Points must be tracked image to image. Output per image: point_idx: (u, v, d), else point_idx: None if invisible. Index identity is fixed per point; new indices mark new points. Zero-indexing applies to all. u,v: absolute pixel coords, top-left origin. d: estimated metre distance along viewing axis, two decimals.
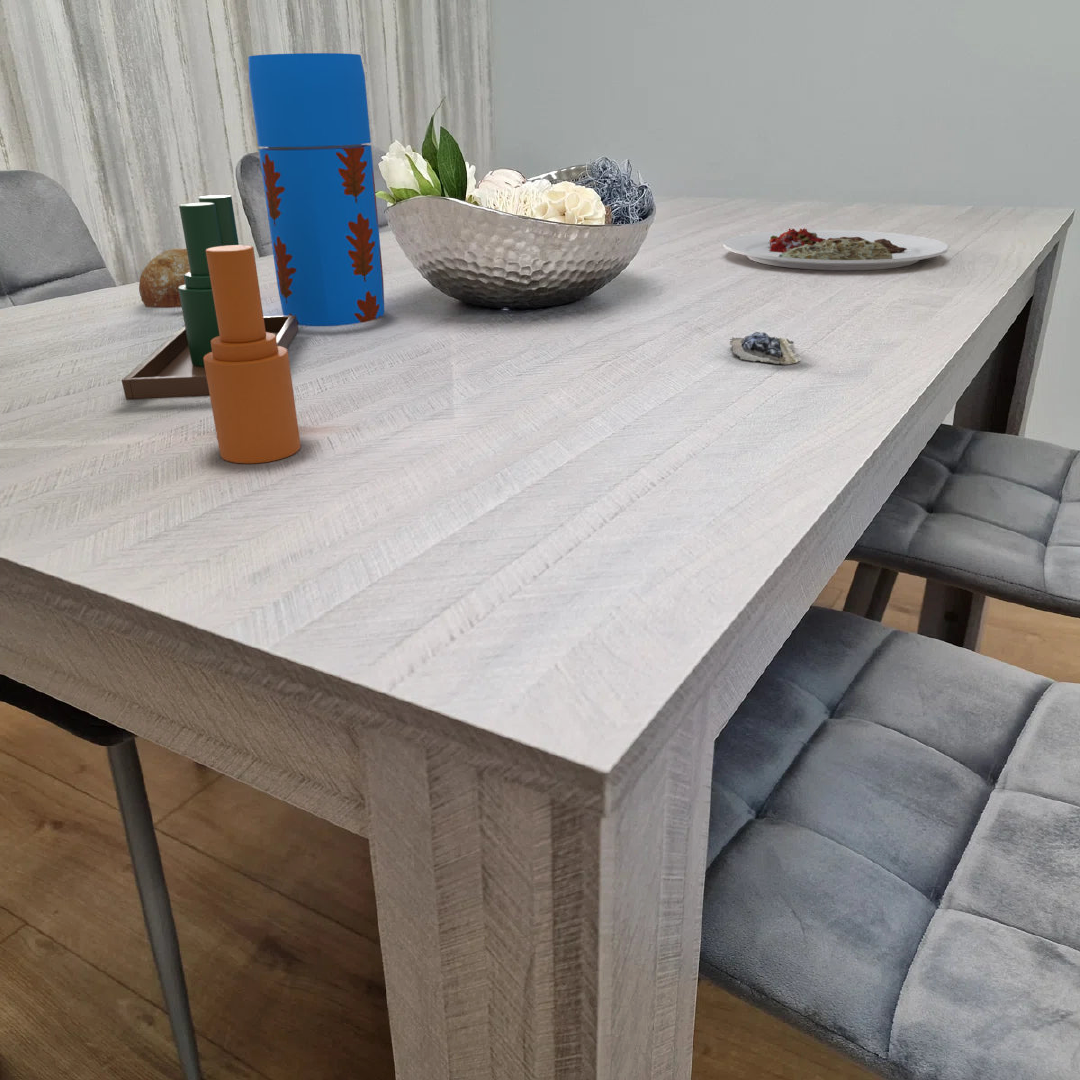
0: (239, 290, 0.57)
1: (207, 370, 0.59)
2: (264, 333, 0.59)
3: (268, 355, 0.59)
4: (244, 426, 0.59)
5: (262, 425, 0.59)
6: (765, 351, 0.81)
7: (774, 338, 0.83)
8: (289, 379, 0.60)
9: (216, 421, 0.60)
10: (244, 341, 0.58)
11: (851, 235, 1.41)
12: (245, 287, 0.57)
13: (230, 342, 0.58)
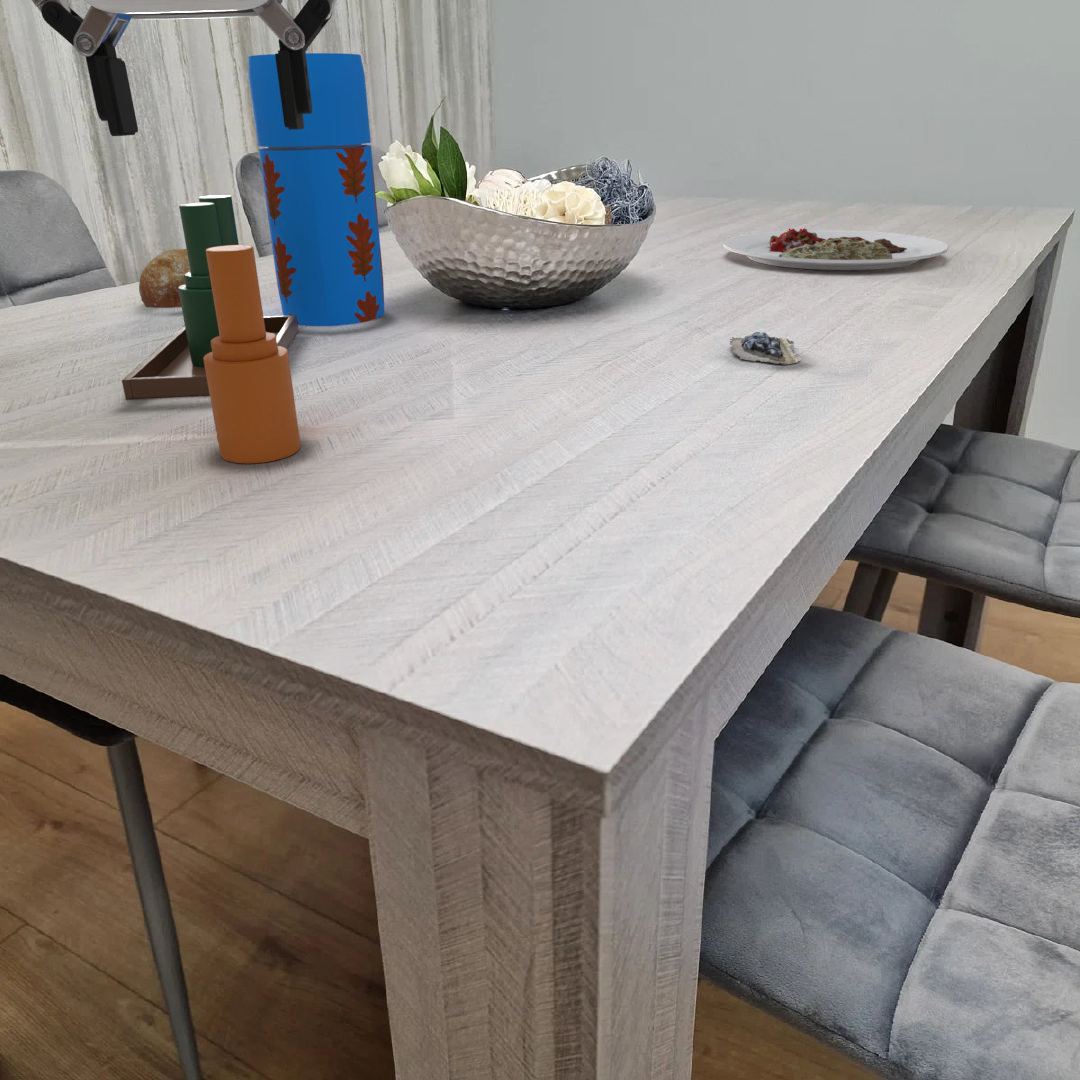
0: (239, 290, 0.57)
1: (207, 370, 0.59)
2: (264, 333, 0.59)
3: (268, 355, 0.59)
4: (244, 426, 0.59)
5: (262, 425, 0.59)
6: (765, 351, 0.81)
7: (774, 338, 0.83)
8: (289, 379, 0.60)
9: (216, 421, 0.60)
10: (244, 341, 0.58)
11: (851, 235, 1.41)
12: (245, 287, 0.57)
13: (230, 342, 0.58)
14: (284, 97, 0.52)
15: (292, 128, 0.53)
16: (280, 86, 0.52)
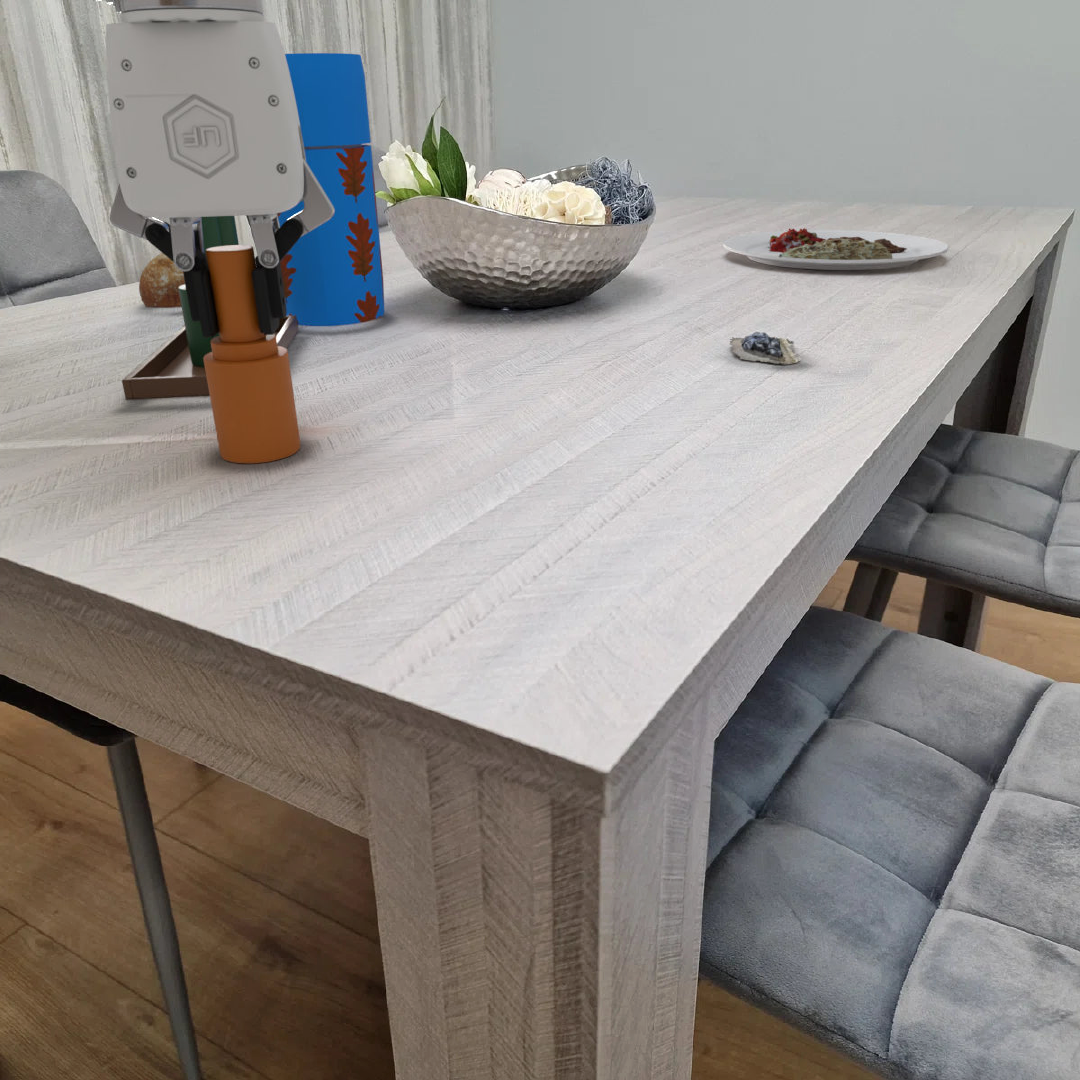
0: (239, 290, 0.57)
1: (207, 370, 0.59)
2: None
3: (268, 355, 0.59)
4: (244, 426, 0.59)
5: (262, 425, 0.59)
6: (765, 351, 0.81)
7: (774, 338, 0.83)
8: (289, 379, 0.60)
9: (216, 421, 0.60)
10: (244, 341, 0.58)
11: (851, 235, 1.41)
12: (245, 287, 0.57)
13: (230, 342, 0.58)
14: (260, 308, 0.57)
15: (267, 334, 0.58)
16: (256, 299, 0.57)
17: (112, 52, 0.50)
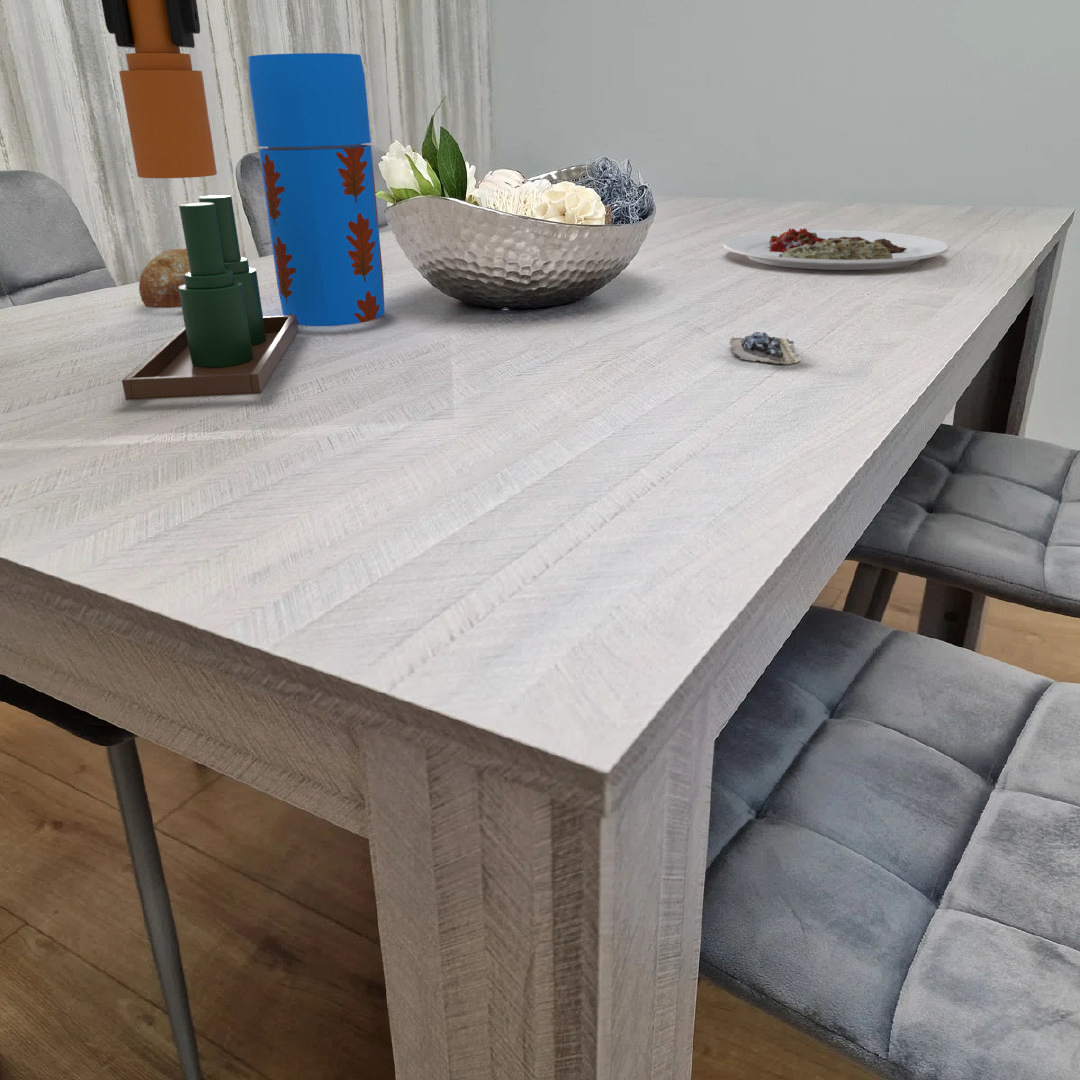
0: None
1: (122, 81, 0.61)
2: (178, 49, 0.62)
3: (180, 68, 0.61)
4: (157, 138, 0.62)
5: (175, 137, 0.62)
6: (765, 351, 0.81)
7: (774, 338, 0.83)
8: (203, 98, 0.63)
9: (132, 136, 0.63)
10: (157, 51, 0.61)
11: (851, 235, 1.41)
12: None
13: (144, 53, 0.61)
14: (171, 16, 0.60)
15: (179, 45, 0.61)
16: (167, 6, 0.60)
17: None
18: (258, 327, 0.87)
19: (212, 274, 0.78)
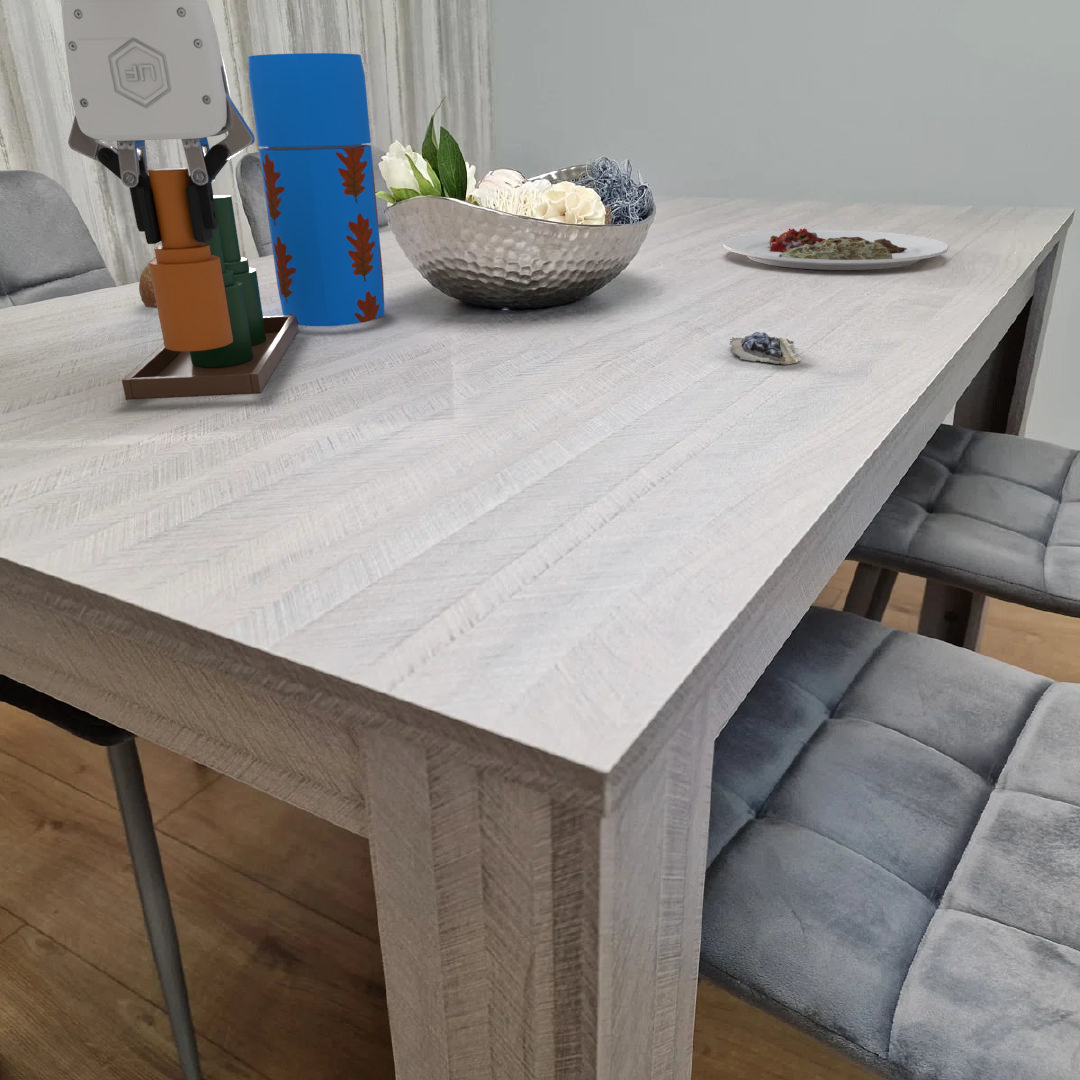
0: (176, 203, 0.69)
1: (151, 272, 0.71)
2: (199, 242, 0.71)
3: (202, 259, 0.71)
4: (183, 319, 0.71)
5: (198, 318, 0.72)
6: (765, 351, 0.81)
7: (774, 338, 0.83)
8: (221, 281, 0.73)
9: (160, 316, 0.72)
10: (181, 247, 0.70)
11: (851, 235, 1.41)
12: (181, 201, 0.69)
13: (170, 248, 0.70)
14: (193, 219, 0.69)
15: (200, 241, 0.70)
16: (190, 211, 0.69)
17: (66, 3, 0.62)
18: (258, 327, 0.87)
19: None
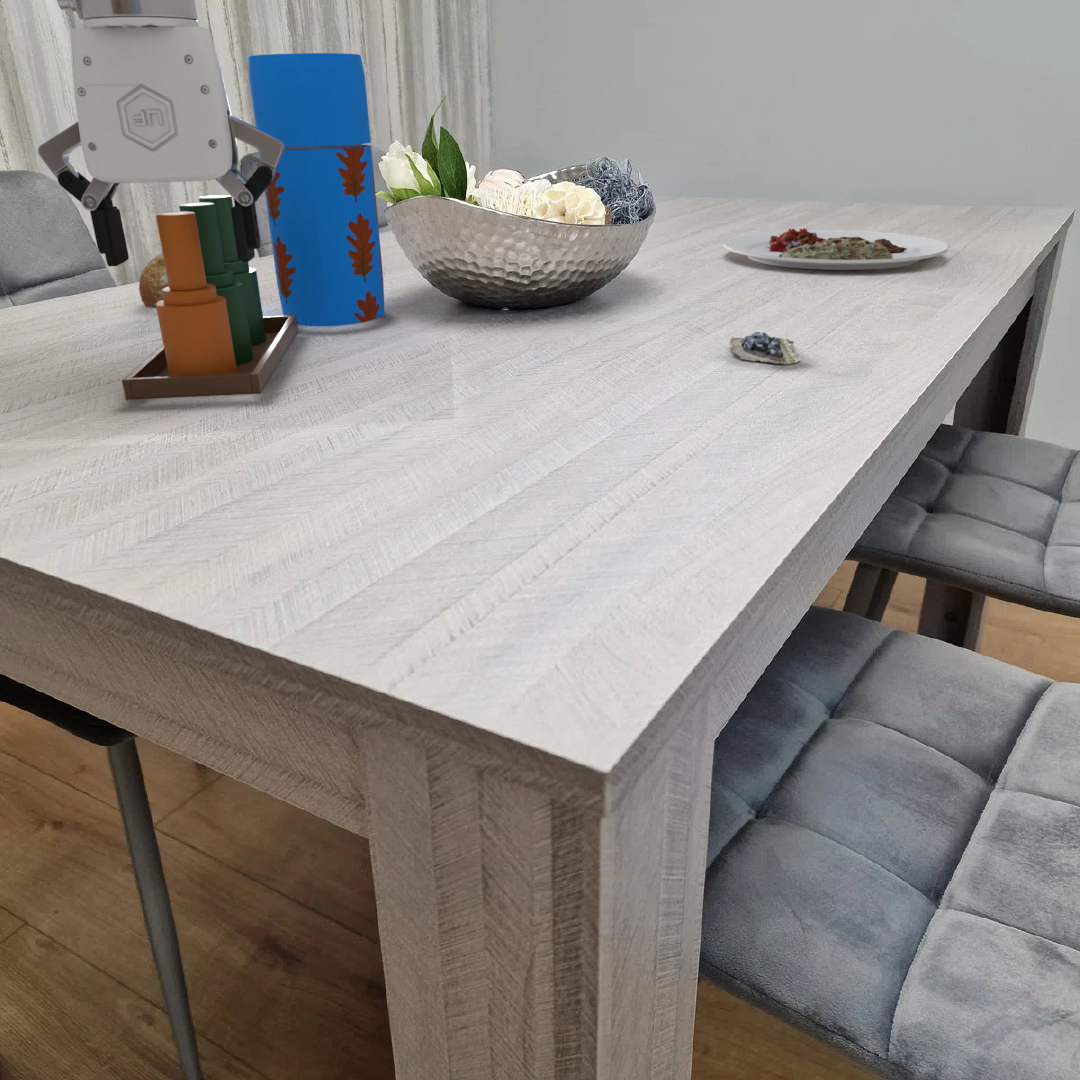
0: (183, 247, 0.70)
1: (158, 313, 0.72)
2: (205, 283, 0.73)
3: (208, 301, 0.72)
4: (189, 359, 0.73)
5: (204, 358, 0.73)
6: (765, 351, 0.81)
7: (774, 338, 0.83)
8: (226, 322, 0.74)
9: (167, 356, 0.74)
10: (188, 289, 0.72)
11: (851, 235, 1.41)
12: (188, 245, 0.71)
13: (177, 290, 0.72)
14: (238, 239, 0.70)
15: (244, 261, 0.71)
16: (235, 232, 0.70)
17: (76, 50, 0.63)
18: (258, 327, 0.87)
19: (212, 274, 0.78)
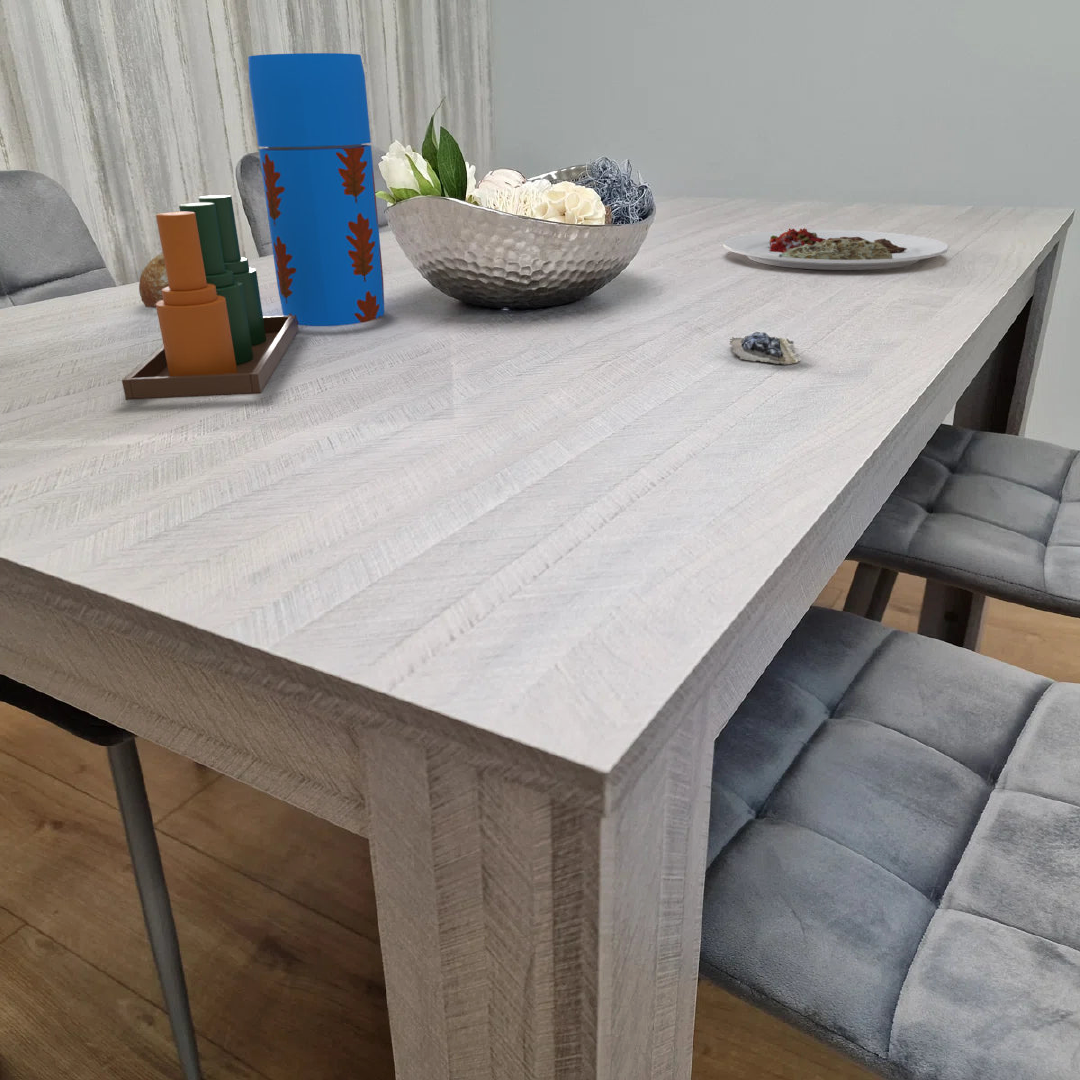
0: (183, 247, 0.70)
1: (158, 313, 0.72)
2: (205, 283, 0.73)
3: (208, 301, 0.72)
4: (189, 359, 0.73)
5: (204, 358, 0.73)
6: (765, 351, 0.81)
7: (774, 338, 0.83)
8: (226, 322, 0.74)
9: (167, 356, 0.74)
10: (188, 289, 0.72)
11: (851, 235, 1.41)
12: (188, 245, 0.71)
13: (177, 290, 0.72)
14: None
15: None
16: None
17: None
18: (258, 327, 0.87)
19: (212, 274, 0.78)
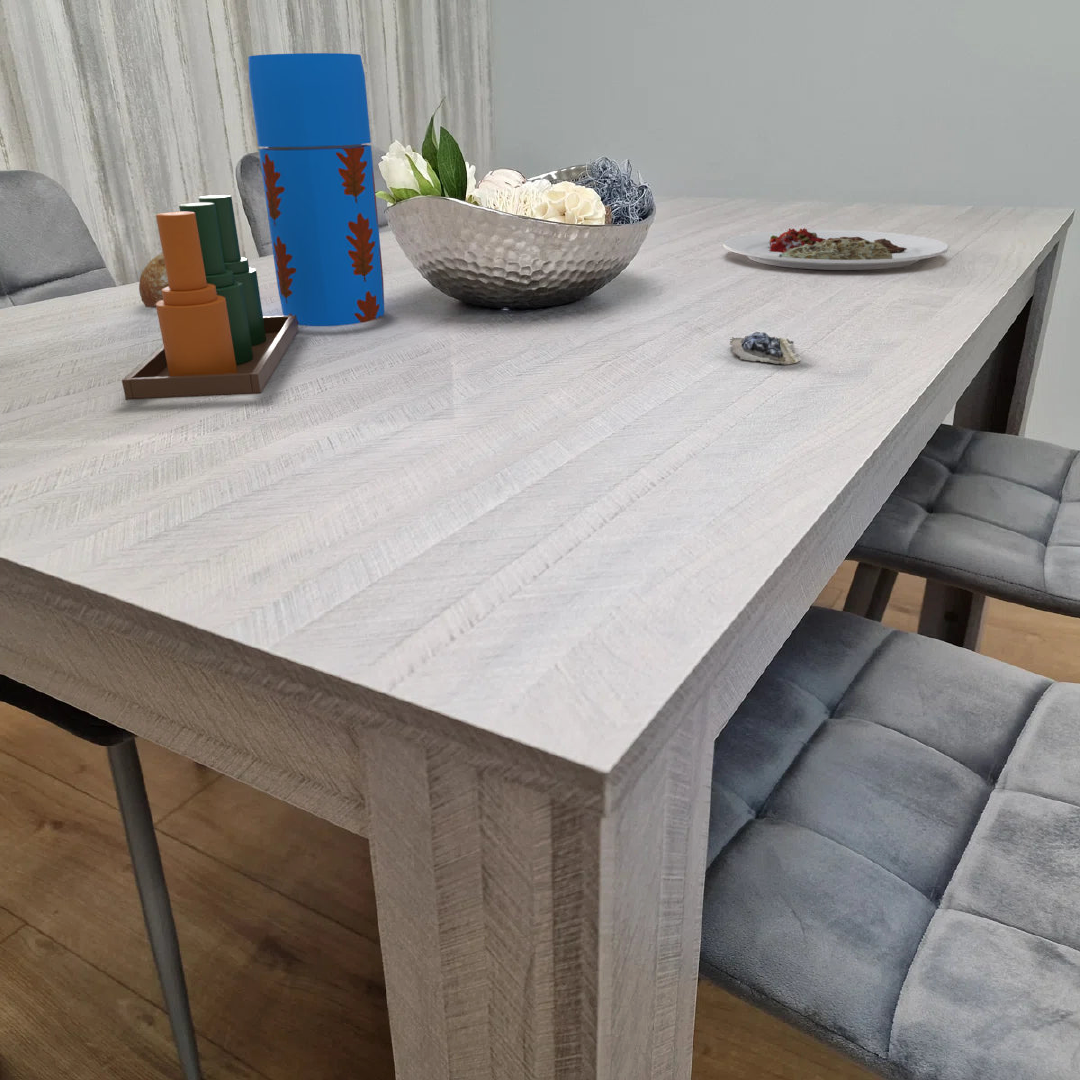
0: (183, 247, 0.70)
1: (158, 313, 0.72)
2: (205, 283, 0.73)
3: (208, 301, 0.72)
4: (189, 359, 0.73)
5: (204, 358, 0.73)
6: (765, 351, 0.81)
7: (774, 338, 0.83)
8: (226, 322, 0.74)
9: (167, 356, 0.74)
10: (188, 289, 0.72)
11: (851, 235, 1.41)
12: (188, 245, 0.71)
13: (177, 290, 0.72)
14: None
15: None
16: None
17: None
18: (258, 327, 0.87)
19: (212, 274, 0.78)
